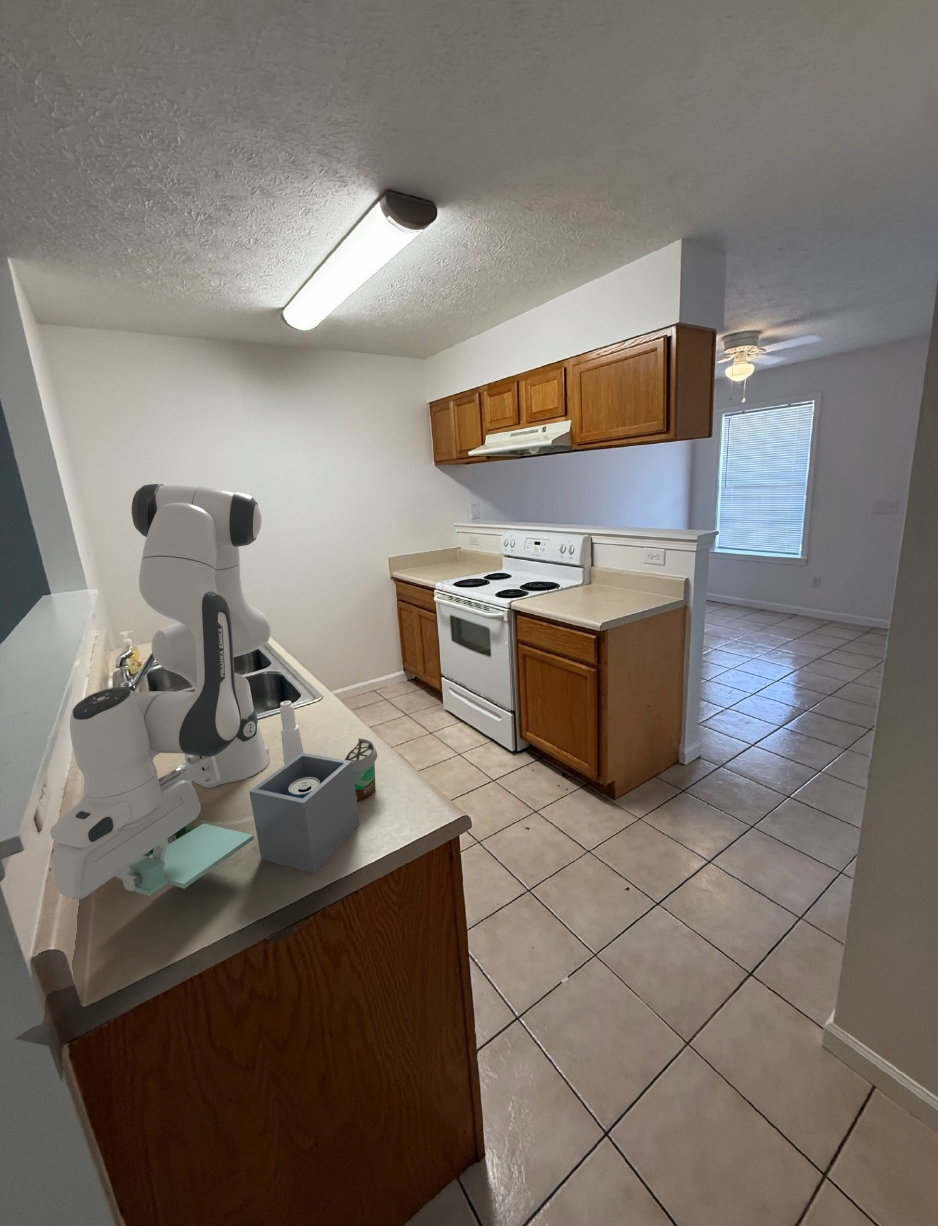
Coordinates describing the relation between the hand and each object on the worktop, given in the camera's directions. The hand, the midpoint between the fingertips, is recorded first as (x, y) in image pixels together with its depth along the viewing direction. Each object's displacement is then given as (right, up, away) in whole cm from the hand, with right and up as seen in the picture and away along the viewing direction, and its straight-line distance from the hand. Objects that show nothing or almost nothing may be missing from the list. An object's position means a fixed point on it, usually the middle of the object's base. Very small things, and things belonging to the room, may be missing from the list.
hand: (145, 877), depth 78 cm
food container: (+27, +1, +34) cm, 43 cm away
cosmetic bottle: (+12, 0, +34) cm, 37 cm away
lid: (+3, -1, +7) cm, 7 cm away
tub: (+20, -3, +19) cm, 28 cm away
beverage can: (+20, -3, +19) cm, 28 cm away
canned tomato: (-8, -4, +21) cm, 23 cm away
